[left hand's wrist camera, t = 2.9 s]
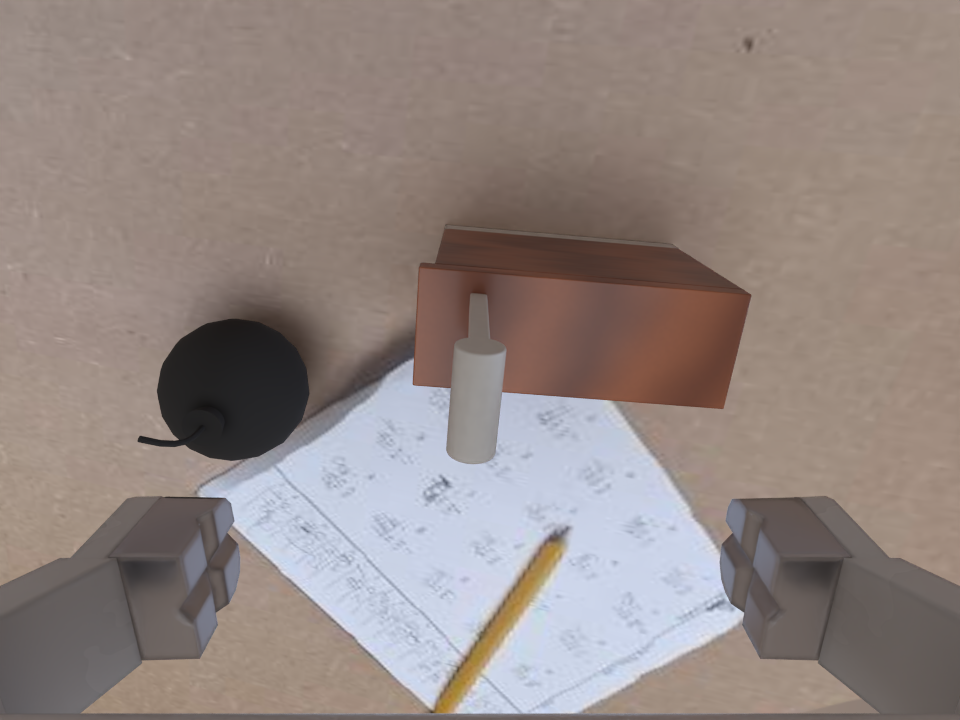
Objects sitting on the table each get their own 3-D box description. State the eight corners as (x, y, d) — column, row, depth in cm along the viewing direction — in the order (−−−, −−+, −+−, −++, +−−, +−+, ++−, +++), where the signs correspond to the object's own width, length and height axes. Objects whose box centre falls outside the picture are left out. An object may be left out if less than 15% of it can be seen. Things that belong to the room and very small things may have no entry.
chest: (439, 312, 38) (427, 378, 28) (445, 224, 36) (434, 263, 27) (655, 330, 39) (716, 401, 29) (672, 244, 37) (743, 288, 27)
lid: (414, 378, 28) (390, 479, 20) (420, 262, 26) (397, 323, 18) (716, 401, 29) (809, 508, 21) (743, 289, 27) (857, 360, 19)
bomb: (347, 354, 39) (296, 449, 28) (277, 442, 41) (203, 564, 30) (238, 276, 37) (136, 343, 26) (171, 372, 39) (49, 473, 28)
